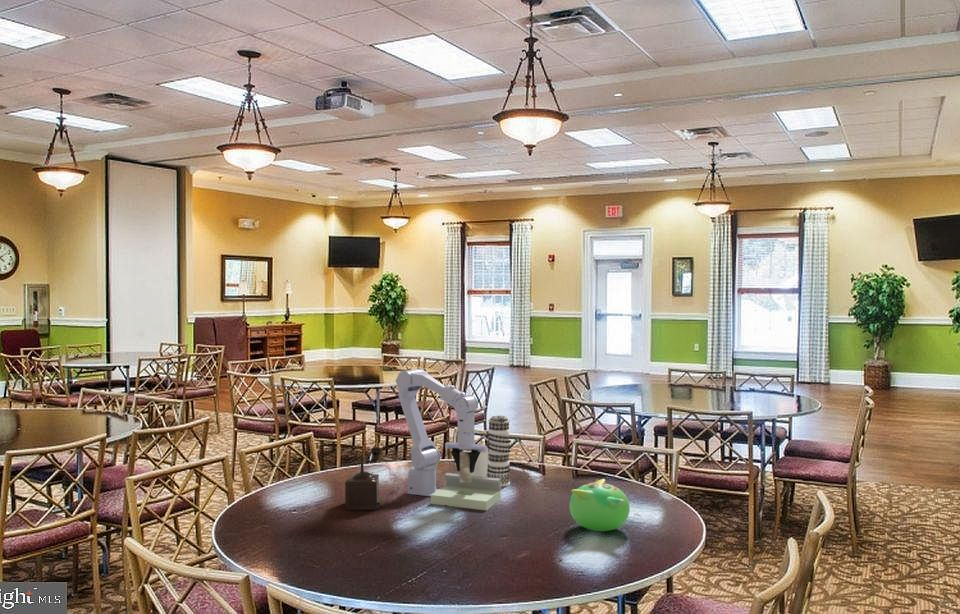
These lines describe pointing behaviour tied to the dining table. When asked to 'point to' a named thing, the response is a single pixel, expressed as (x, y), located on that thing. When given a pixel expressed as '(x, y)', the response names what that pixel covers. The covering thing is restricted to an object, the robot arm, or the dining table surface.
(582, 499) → the toy bird
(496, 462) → the decorative candle
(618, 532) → the dining table surface
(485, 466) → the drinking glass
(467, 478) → the peg
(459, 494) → the socket board
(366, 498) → the pepper mill
